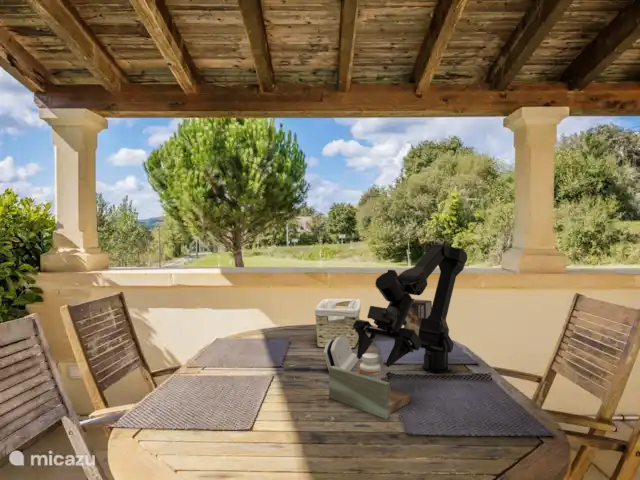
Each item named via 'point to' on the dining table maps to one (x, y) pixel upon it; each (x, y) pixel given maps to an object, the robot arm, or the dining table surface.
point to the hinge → (340, 354)
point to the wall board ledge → (365, 392)
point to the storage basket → (337, 320)
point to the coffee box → (418, 314)
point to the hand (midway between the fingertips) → (372, 362)
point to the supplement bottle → (370, 366)
